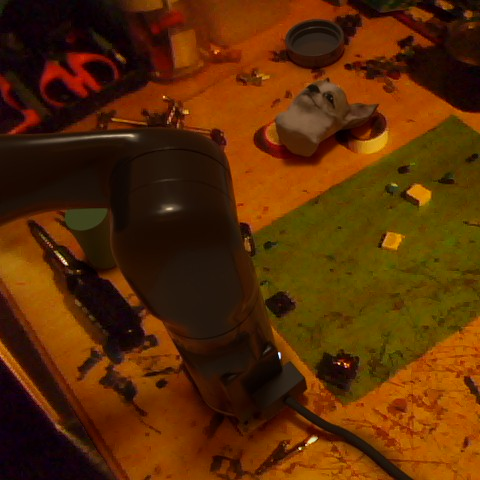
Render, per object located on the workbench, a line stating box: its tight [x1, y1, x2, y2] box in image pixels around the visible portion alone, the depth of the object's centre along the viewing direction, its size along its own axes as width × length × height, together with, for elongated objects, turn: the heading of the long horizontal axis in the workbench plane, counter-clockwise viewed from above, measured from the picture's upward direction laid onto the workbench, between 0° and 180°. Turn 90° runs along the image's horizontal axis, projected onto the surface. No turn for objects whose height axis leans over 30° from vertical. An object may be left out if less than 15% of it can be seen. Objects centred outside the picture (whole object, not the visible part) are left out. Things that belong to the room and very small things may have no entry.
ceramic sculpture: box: [273, 77, 380, 158], centre depth 91 cm, size 11×9×15 cm
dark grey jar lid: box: [284, 18, 346, 69], centre depth 104 cm, size 9×9×2 cm
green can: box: [64, 208, 118, 270], centre depth 81 cm, size 5×5×8 cm
